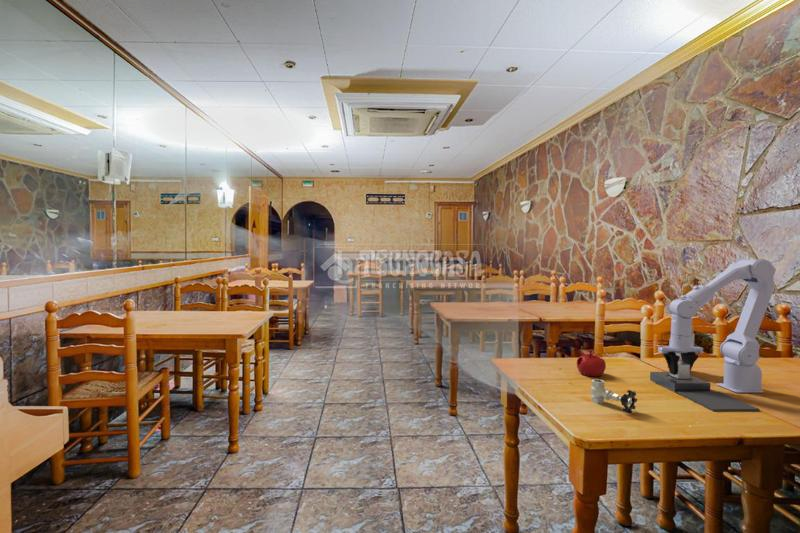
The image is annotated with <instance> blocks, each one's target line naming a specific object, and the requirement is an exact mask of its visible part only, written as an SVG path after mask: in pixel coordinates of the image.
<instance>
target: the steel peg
mask: <svg viewBox="0 0 800 533" xmlns="http://www.w3.org/2000/svg"><path fill="white" fill-rule="evenodd" d="M668 372H669V376H670V377H672V378H674V379H676V380H689V375H691V374H690V373H691V371H690V365H689V364H687V363H684V362H681V361H678V364H677V372H676V375H673V374H671V373H670V371H668Z"/></svg>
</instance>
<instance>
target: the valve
mask: <svg viewBox="0 0 800 533" xmlns="http://www.w3.org/2000/svg"><path fill="white" fill-rule="evenodd" d="M626 392H627V393H628V394H626V393H623V395H622V396H621V395H620V394H617V393H613V391H612V390H611V389H608V388H607V389H606V388H605V380H603V379H599V378H593V379H592V380H591V387H590V395H591V402H592V403H594V404H597V405H604V401H605V400H608V401H610V400H613V401H616V402H619V401H620V403H621V405H622V406H623V407H624V408H622V412H625V413H626V414H632V413H633V411H632V410H636V405H635V404H636V403H637V402H638V398H637V397H636V395H637V393H636V392H635V391H633V390H631V389H628V390H627V391H626Z"/></svg>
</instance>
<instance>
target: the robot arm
mask: <svg viewBox="0 0 800 533" xmlns="http://www.w3.org/2000/svg"><path fill="white" fill-rule="evenodd" d="M776 271H777V269H776V268H775V266H774V265H773V264H772V262H770V261H769V260H767V259H765V258H764V259H763V258H762V259H761V258H760V259H756V258H755V259H754V258H753V259H751V258H749V259H747V258H739V259H737V260H735V261H734V262H733V263H730V264H729V265H728V267H727V268H726V269H724V270H723V271H722V272H721V273H719V274H718V275H717V276H715V277H714V278H713V279H712V280H711V281H709V282H708V283H707V284H705V285H703V284H700V285H694V286H693V287H692V289H691V290H690V291H689V292H687V293H686V294H684V295H683V294H682V295H680V298H678V299H677V298H676V299H673V300H672V301H671V302H670V304H669V306H667V310H668V312H669V313H670V316H671V322H670V323H671V324H670V338H671V343H670V346H669V345H665V346H664V345H663V346H657V353H659V354H662V356H663V357H664V359H665V361H666V363H667V368H668V367H669V368H668V370H669V371H670V373H671V374H673V375H676V372H677V364H678V360H679V358H680V356H677V355H676V354H675V353H680V354H681V358H682V362H684V363H687V364H689V365H690V370H691V371H692V369H691V368H693V367H692V366H694V364H695V362H696V361H697V359H699V355H698V354H701V355H702V354H704V348H703V347H700V346H694V347H693V346H691V332H692V327H693V317H694V316H696V315H697V312H698V311H699V310H698V309H700V308H702V307H703V306H704V305H706V304H707V303H708V302H710V301H711V300H713V299H714V297H715V293H717V292H718V291H720V290H721V289H723V288H724V287H726V286H728V285H730V284H731V283H733V282H735V281H736V280H742V281H744V282H745V283H746V284H747V286H748V287H749V288H750V289H749V292H748V295H747V298H746V301H745V303H744V305H743V308H742V311H741V314H740V316H739V319H738V321H737V324H736V327H735V329H734V332H731V333H730V334H728V335H727V336H726V339H725V340H724V341H723V342H722V343H721V344H720V346H719V352H720V354H721V355H722V356H723V360H724V361H723V362H724V365H723V382H717V383H716V385H717V386H720V387H722V388H723V389H724V388H725V389H726V390H729V391H731V392H734V393H738V394H739V393H740V394H741V393H742V394H743V393H752V394H753V393H760V394H761V393H764V390H762V381H763V380H762V378H763V374H762V373H763V372H762V370H761V368H760V366H759V365H758V364H757V362H758V361H759V359H760V351H759V350H760V347H761V345H760V343H759V341H757V339H756V338H757V335H758V332H759V329H760V327H761V324H762V322H763V319H764V316H765V314H766V311H767V309H768V306H769V304H770V301H771V298H772V295H773V292H774V290H775V280H774V279H775V278H774V276H775V273H776ZM669 371H668V372H669Z"/></svg>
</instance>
